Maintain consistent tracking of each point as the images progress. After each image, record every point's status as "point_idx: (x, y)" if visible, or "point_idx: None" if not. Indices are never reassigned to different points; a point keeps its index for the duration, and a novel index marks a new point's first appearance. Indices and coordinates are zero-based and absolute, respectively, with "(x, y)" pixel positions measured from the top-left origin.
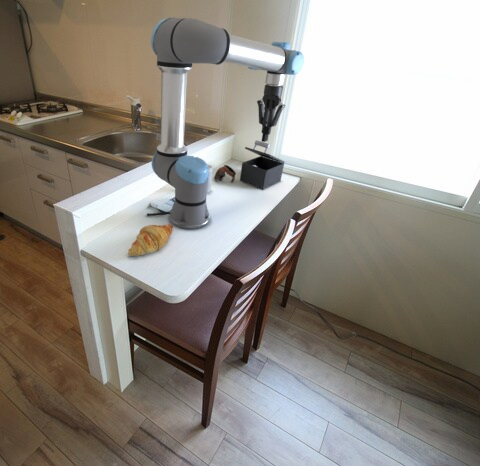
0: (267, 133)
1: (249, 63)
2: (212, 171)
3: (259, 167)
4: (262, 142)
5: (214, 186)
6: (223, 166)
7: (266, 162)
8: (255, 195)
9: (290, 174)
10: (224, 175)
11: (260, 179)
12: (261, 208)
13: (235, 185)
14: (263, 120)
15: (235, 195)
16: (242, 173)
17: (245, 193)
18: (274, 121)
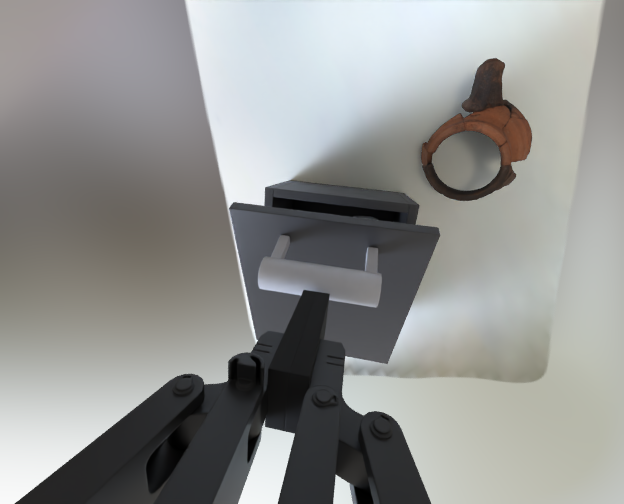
0: (274, 337)
1: None
2: None
3: None
4: (315, 282)
5: (472, 42)
6: (510, 146)
7: None
8: (283, 109)
9: None
10: (463, 103)
11: (299, 185)
12: (207, 16)
13: (395, 134)
14: (323, 454)
15: (343, 37)
16: (399, 196)
17: (322, 93)
18: (112, 432)
